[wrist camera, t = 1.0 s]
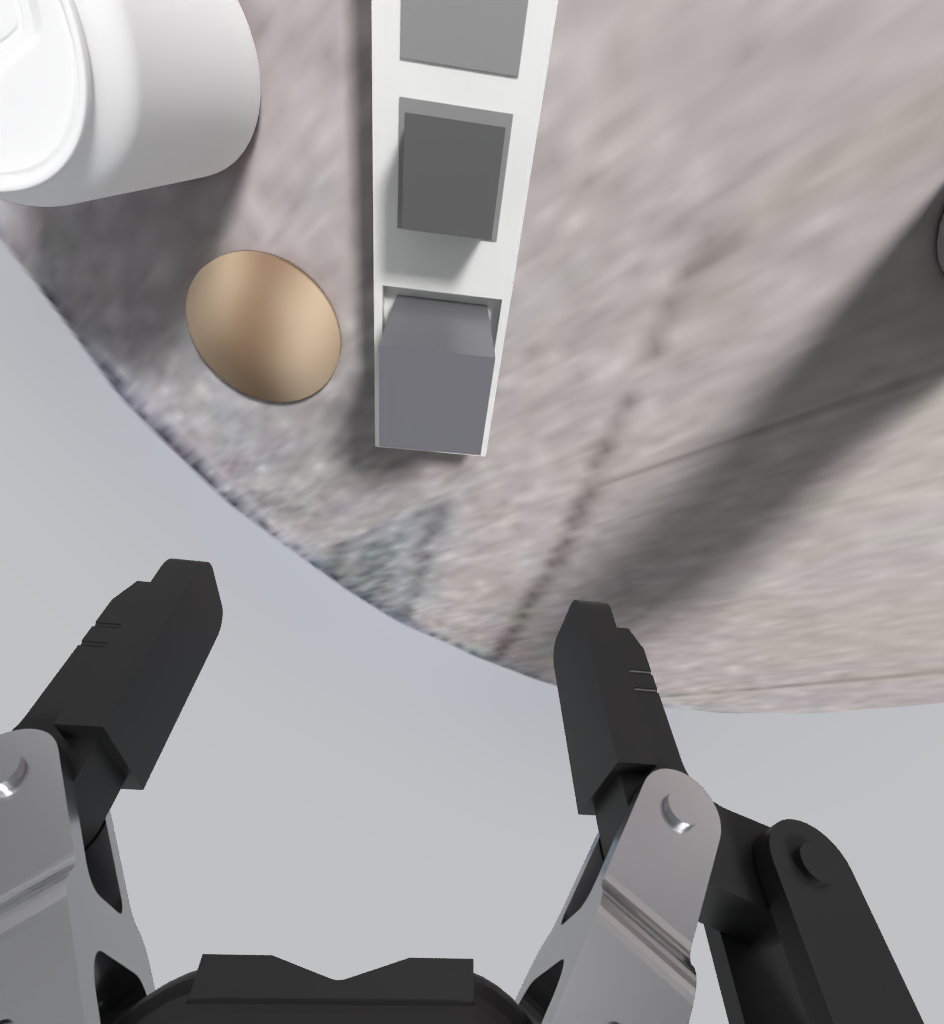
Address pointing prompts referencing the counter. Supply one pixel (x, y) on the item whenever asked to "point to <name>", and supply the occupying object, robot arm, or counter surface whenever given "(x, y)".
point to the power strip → (450, 254)
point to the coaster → (263, 326)
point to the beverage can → (121, 95)
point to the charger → (435, 375)
